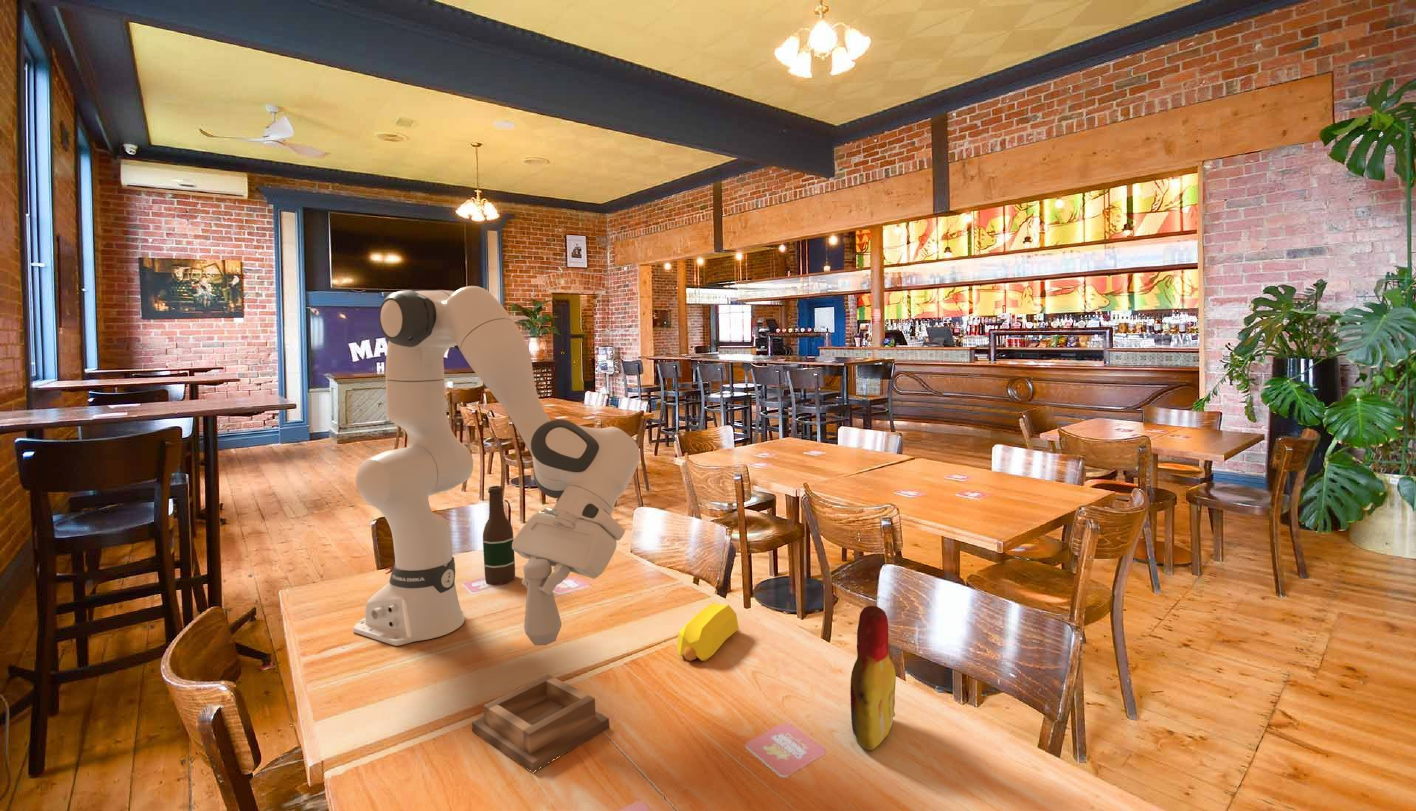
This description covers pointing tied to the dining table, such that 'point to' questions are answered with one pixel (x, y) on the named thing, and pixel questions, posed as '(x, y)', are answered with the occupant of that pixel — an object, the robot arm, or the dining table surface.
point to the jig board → (540, 721)
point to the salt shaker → (540, 605)
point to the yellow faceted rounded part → (707, 632)
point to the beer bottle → (498, 542)
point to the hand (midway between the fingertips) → (535, 589)
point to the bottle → (872, 680)
